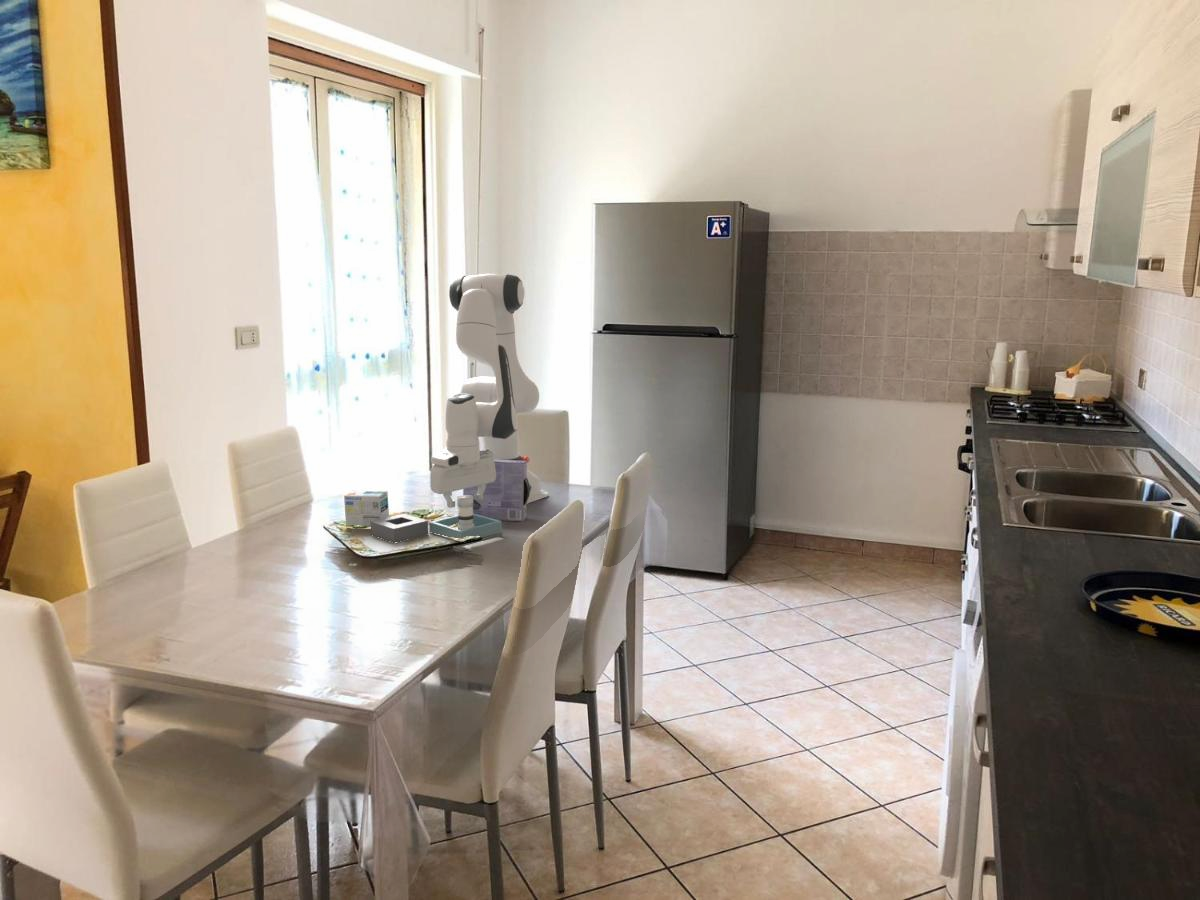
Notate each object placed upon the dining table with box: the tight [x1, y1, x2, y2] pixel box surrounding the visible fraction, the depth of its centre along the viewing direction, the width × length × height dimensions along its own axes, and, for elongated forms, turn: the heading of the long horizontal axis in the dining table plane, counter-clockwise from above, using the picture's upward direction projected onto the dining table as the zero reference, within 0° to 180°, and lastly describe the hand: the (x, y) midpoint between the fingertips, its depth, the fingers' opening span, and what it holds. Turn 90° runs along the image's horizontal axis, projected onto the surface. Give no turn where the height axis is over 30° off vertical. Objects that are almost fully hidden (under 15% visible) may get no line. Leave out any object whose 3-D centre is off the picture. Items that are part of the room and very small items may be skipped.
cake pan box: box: [462, 460, 530, 522], centre depth 273 cm, size 19×5×18 cm, turn 84°
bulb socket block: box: [370, 513, 429, 544], centre depth 255 cm, size 11×11×5 cm
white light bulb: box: [456, 494, 474, 530], centre depth 256 cm, size 4×4×10 cm
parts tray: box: [428, 513, 503, 547], centre depth 257 cm, size 14×14×4 cm
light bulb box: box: [343, 490, 390, 527], centre depth 263 cm, size 11×7×11 cm, turn 84°
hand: (465, 503), depth 256 cm, fingers open, 8 cm apart
